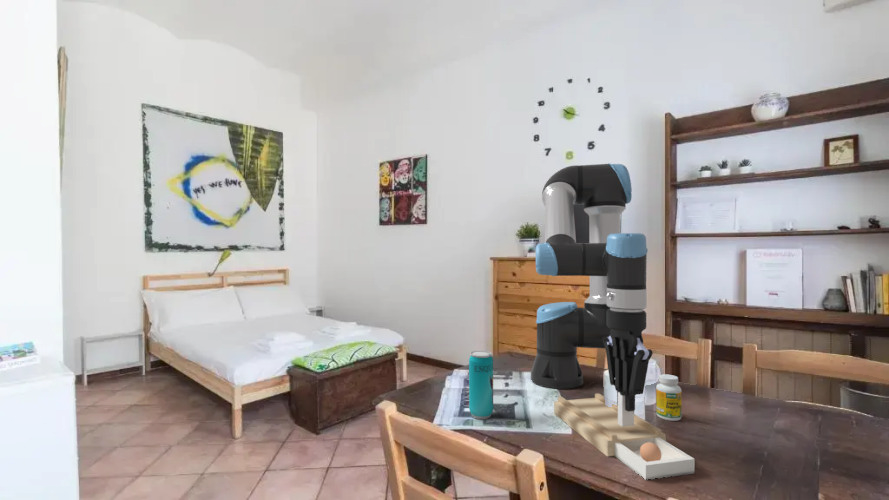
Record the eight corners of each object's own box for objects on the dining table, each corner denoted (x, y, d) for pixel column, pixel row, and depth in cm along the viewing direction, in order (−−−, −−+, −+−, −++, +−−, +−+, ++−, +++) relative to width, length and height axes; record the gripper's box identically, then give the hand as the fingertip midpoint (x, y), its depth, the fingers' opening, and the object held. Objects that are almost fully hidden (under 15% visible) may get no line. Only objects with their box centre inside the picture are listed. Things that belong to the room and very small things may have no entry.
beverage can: (494, 420, 102) (494, 356, 102) (469, 420, 102) (469, 356, 102) (492, 411, 108) (492, 350, 107) (468, 410, 108) (468, 350, 107)
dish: (611, 453, 86) (611, 440, 86) (655, 447, 88) (655, 435, 88) (645, 480, 76) (645, 465, 76) (694, 473, 78) (694, 458, 78)
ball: (641, 467, 81) (633, 446, 83) (657, 464, 82) (648, 444, 84) (652, 462, 78) (643, 441, 80) (669, 459, 79) (659, 438, 81)
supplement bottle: (671, 411, 107) (672, 372, 107) (686, 420, 101) (687, 379, 101) (651, 413, 106) (651, 373, 106) (665, 422, 101) (665, 380, 100)
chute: (554, 413, 106) (554, 397, 106) (602, 409, 109) (602, 393, 109) (607, 456, 84) (607, 436, 84) (665, 449, 87) (665, 429, 87)
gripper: (591, 305, 94) (591, 414, 95) (630, 314, 82) (630, 440, 82) (622, 304, 96) (622, 411, 96) (664, 313, 83) (664, 436, 84)
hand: (625, 424), depth 89 cm, fingers closed
